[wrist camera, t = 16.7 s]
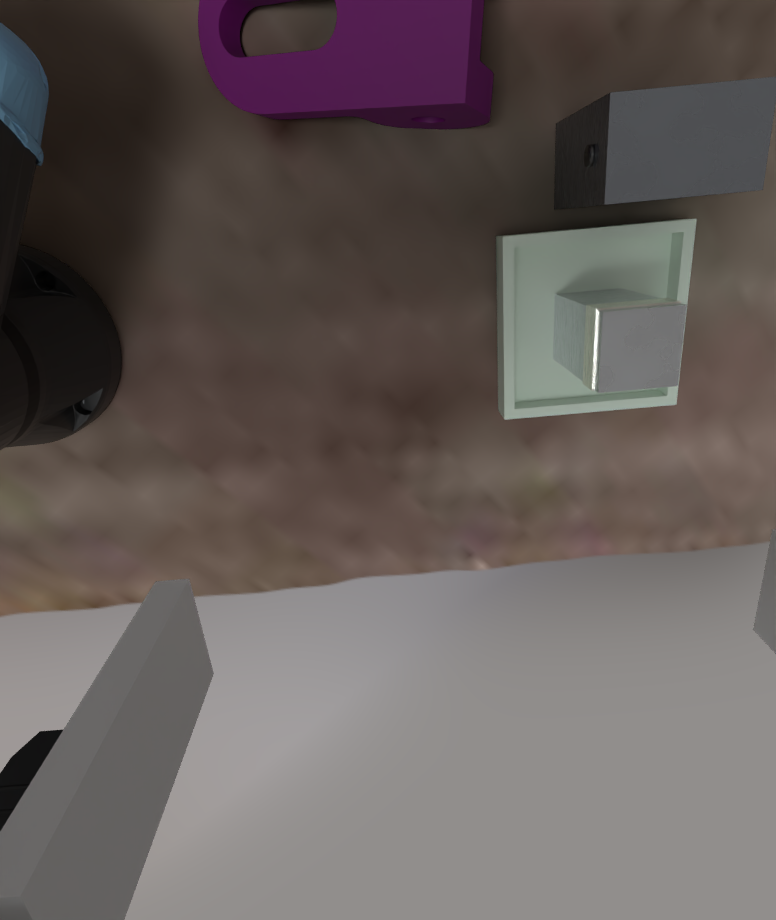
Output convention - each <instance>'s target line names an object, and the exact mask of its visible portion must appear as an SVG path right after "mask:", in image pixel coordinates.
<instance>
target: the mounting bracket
mask: <svg viewBox="0 0 776 920" xmlns="http://www.w3.org/2000/svg"><path fill="white" fill-rule="evenodd" d="M291 1H298V0H200V2H199V13H198V28H199V39H200V45H201V50H202V54H203V58H204V61H205V64H206V67H207V69H208V72H209V74H210V76H211V78H212V80H213V82H214V83H215V85H216V86H217V88H218V89H219V91H220V92H221V93H222V94H223V95H224V96H225V97H226V99H227V100H229V101H230V102H231V103H232V104H234V105H235V106H237V107H238V108H240V109H242V110H244V111H247V112H250V113H253V114H257V115H260V116H264V117H267V118H271V119H282V120H283V119H303V118H323V117H343V116H353V117H360V118H363V119H366V120H369V121H371V122H374V123H377V124H381V125H386V126H392V127H400V128H422V129H459V128H469V127H475V126H480V125H484V124H486V123H488V122H489V121H490V113H491V101H492V89H493V76H494V74H493V72H492V71H491V70H490V69H489V68H487V67H486V66H485V65H484V64H483V63H482V62H481V61H480V50H481V36H482V23H483V9H484V0H335V3H336V7H337V22H336V27H335V30H334V33H333V35H332V37H331V38H330V40H329V41H328V42H327V43H326V44H325V45H324V46H323V47H321V48H320V49H317V50H311V51H301V52H291V53H282V54H272V55H262V56H252V57H245V55H244V53H243V51H242V48H241V44H240V28H241V24H242V21H243V19H244V17H245V15H246V14H247V13H248V12H249V11H250V10H251V9H252V8H254V7H257V6H263V5H270V4H277V3H284V2H291Z"/></svg>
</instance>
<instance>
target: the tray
mask: <svg viewBox="0 0 776 920" xmlns="http://www.w3.org/2000/svg"><path fill="white" fill-rule="evenodd" d="M696 221H697V219H675V220H664V221H653V222H642V223H631V224H620V225H610V226H599V227H588V228H577V229H566V230H555V231H545V232H534V233H523V234H512V235H501V236H496V279H497V354H498V411H499V412H500V414H501V415H502V417H503V418H504V420H507V419H518V418H530V417H541V416H553V415H564V414H575V413H587V412H598V411H610V410H621V409H633V408H644V407H655V406H667V405H676V404H677V394H678V386H673V387H661V388H650V389H638V390H627V391H615V392H604V393H598V392H596V391H591V390H590V389H589V388H587V387H586V386H585V385H583V381H582V380H580V379H579V378H578V377H576V376H575V375H574V374H572V373H571V372H570V371H568V370H567V369H566V368H564V367H563V366H562V365H560V364H559V363H558V362H556V361H555V360H554V359H553V344H554V304H555V294H561V293H572V292H583V291H594V290H605V289H617V288H622V289H626V290H630V291H634V292H638V293H642V294H646V295H650V296H654V297H658V298H671V299H675V300H679V301H681V303H682V304H686V305H687V303H688V294H689V285H690V275H691V266H692V257H693V248H694V239H695V230H696ZM686 312H687V308H686ZM685 321H686V317H685ZM684 330H685V326H684ZM683 340H684V335H683ZM682 349H683V345H682ZM681 358H682V354H681ZM680 367H681V363H680ZM679 376H680V372H679ZM678 385H679V381H678Z"/></svg>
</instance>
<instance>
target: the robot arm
mask: <svg viewBox="0 0 776 920" xmlns="http://www.w3.org/2000/svg"><path fill="white" fill-rule="evenodd" d="M48 97H49V89H48V81H47V77H46V75H45V72H44V70H43V68H42V66H41V63H40V61H39V60H38V58H37V57H36V56H35V54H34V53H33V52H32V51H31V49H30V48H29V47H28V46H27V45H26V44H25V43H24V42H23V41H22V40H21V39H20V38H19V37H18V36H17V35H16V34H14V33H13V32H12V31H11V30H10V29H8V28H7V27H6V26H5V25H3V24H2V23H1V22H0V450H1V449H3V448H5V447H14V446H26V445H37V444H45V443H50V442H54V441H57V440H60V439H63V438H65V437H68V436H70V435H72V434H74V433H76V432H77V431H79V430H80V429H82V428H83V427H85V426H86V425H88V424H89V423H91V422H92V421H93V420H95V419H96V418H97V417H98V416H99V415H100V414H101V413H102V412H103V411H104V410H105V409H106V407H107V406H108V405H109V403H110V402H111V400H112V398H113V396H114V394H115V392H116V389H117V386H118V383H119V379H120V373H121V350H120V344H119V339H118V335H117V332H116V329H115V326H114V324H113V321H112V319H111V317H110V315H109V313H108V311H107V309H106V307H105V306H104V304H103V302H102V301H101V300H100V298H99V297H98V295H97V294H96V293H95V292H94V290H93V289H92V288H91V287H90V286H89V285H88V284H87V282H86V281H85V280H84V279H82V278H81V277H80V276H79V275H78V274H77V273H76V272H75V271H73V270H72V269H71V268H69V267H68V266H67V265H65V264H64V263H62V262H61V261H59V260H57V259H56V258H54V257H52V256H50V255H48V254H46V253H44V252H41V251H39V250H37V249H34V248H31V247H27V246H23V245H19V243H20V238H21V234H22V229H23V224H24V220H25V215H26V210H27V206H28V201H29V196H30V192H31V187H32V182H33V178H34V173H35V168H36V165H38V166H41V165H42V163H43V159H44V155H43V152H42V149H41V147H40V146H41V140H42V134H43V128H44V122H45V116H46V110H47V104H48ZM753 630H754V631H755V632H756V633H757V634H758V635H759V636H760V637H761V639H762V640H763V641H764V642H765V643H766V644H767V645H768V646H769V647H770V648H771V649H772V650H773V651H774V653H775V654H776V529H773V530H772V534H771V539H770V544H769V550H768V555H767V560H766V565H765V570H764V576H763V581H762V586H761V591H760V597H759V602H758V607H757V612H756V617H755V623H754V628H753ZM212 677H213V670H212V665H211V662H210V658H209V654H208V650H207V646H206V642H205V638H204V634H203V631H202V627H201V623H200V619H199V615H198V611H197V607H196V603H195V599H194V595H193V592H192V588H191V584H190V580H189V579H180V580H168V581H156V582H155V583H154V585H153V587H152V588H151V590H150V592H149V593H148V595H147V596H146V598H145V600H144V601H143V603H142V604H141V606H140V608H139V609H138V611H137V612H136V614H135V616H134V617H133V619H132V620H131V622H130V624H129V625H128V627H127V629H126V630H125V632H124V633H123V635H122V637H121V638H120V640H119V641H118V643H117V645H116V646H115V648H114V649H113V651H112V653H111V654H110V656H109V657H108V659H107V661H106V662H105V664H104V666H103V667H102V669H101V670H100V672H99V674H98V675H97V677H96V678H95V680H94V682H93V683H92V685H91V687H90V688H89V690H88V691H87V693H86V695H85V696H84V698H83V699H82V701H81V703H80V704H79V706H78V707H77V709H76V711H75V712H74V714H73V715H72V717H71V719H70V720H69V722H68V723H67V725H66V727H65V728H64V730H53V731H41V732H39V733H38V734H37V735H36V736H34V737H33V738H32V739H31V740H30V741H29V742H28V743H27V744H26V745H25V746H24V747H22V748H21V749H20V750H19V751H18V752H17V753H16V754H15V755H13V756H12V758H11V759H10V760H9V762H8V763H7V764H6V766H5V767H4V769H3V770H2V772H1V773H0V920H124V919H125V916H126V913H127V910H128V908H129V905H130V902H131V900H132V897H133V894H134V891H135V889H136V886H137V883H138V880H139V877H140V875H141V872H142V869H143V867H144V864H145V861H146V858H147V855H148V853H149V850H150V847H151V845H152V842H153V839H154V836H155V833H156V831H157V828H158V825H159V822H160V820H161V817H162V814H163V812H164V809H165V806H166V803H167V800H168V798H169V795H170V792H171V789H172V787H173V784H174V781H175V778H176V776H177V773H178V770H179V768H180V765H181V762H182V759H183V757H184V754H185V751H186V748H187V746H188V743H189V740H190V737H191V735H192V732H193V729H194V726H195V724H196V721H197V718H198V715H199V713H200V710H201V707H202V704H203V702H204V699H205V696H206V693H207V691H208V687H209V685H210V682H211V680H212Z"/></svg>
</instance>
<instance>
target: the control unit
mask: <svg viewBox="0 0 776 920" xmlns="http://www.w3.org/2000/svg"><path fill="white" fill-rule="evenodd" d="M775 103H776V77H768V78H758V79H747V80H737V81H726V82H716V83H706V84H695V85H685V86H674V87H664V88H653V89H643V90H632V91H622V92H611V93H609V94H607V95H605V96H604V97H602V98H600V99H598V100H597V101H595V102H593V103H591V104H590V105H588V106H586V107H584V108H583V109H581V110H579V111H577V112H576V113H574V114H572V115H570V116H569V117H567V118H565V119H563V120H562V121H560V122H558V123H556V149H555V194H554V209H564V208H575V207H586V206H597V205H608V204H618V203H629V202H640V201H651V200H661V199H672V198H683V197H693V196H704V195H714V194H725V193H735V192H746V191H756V190H763V184H764V178H765V171H766V164H767V157H768V150H769V144H770V137H771V130H772V123H773V116H774V110H775Z"/></svg>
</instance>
